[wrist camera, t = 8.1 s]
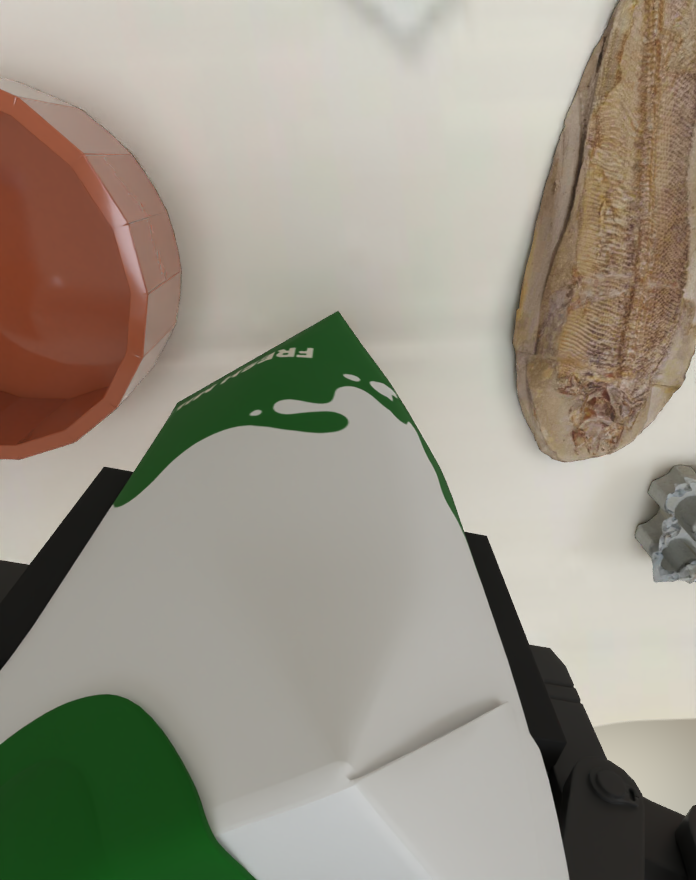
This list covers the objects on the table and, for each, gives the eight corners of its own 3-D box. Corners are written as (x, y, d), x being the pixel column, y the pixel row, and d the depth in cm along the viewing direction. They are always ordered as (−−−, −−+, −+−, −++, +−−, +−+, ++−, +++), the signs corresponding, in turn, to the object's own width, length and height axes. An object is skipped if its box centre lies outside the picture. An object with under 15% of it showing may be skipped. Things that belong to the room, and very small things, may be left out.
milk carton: (347, 273, 21) (424, 1130, 2) (460, 475, 24) (843, 1463, 6) (141, 394, 22) (-712, 1421, 4) (274, 567, 26) (121, 1547, 8)
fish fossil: (549, -41, 28) (559, -49, 27) (760, -49, 28) (779, -58, 27) (516, 463, 38) (522, 471, 37) (671, 449, 39) (682, 457, 38)
